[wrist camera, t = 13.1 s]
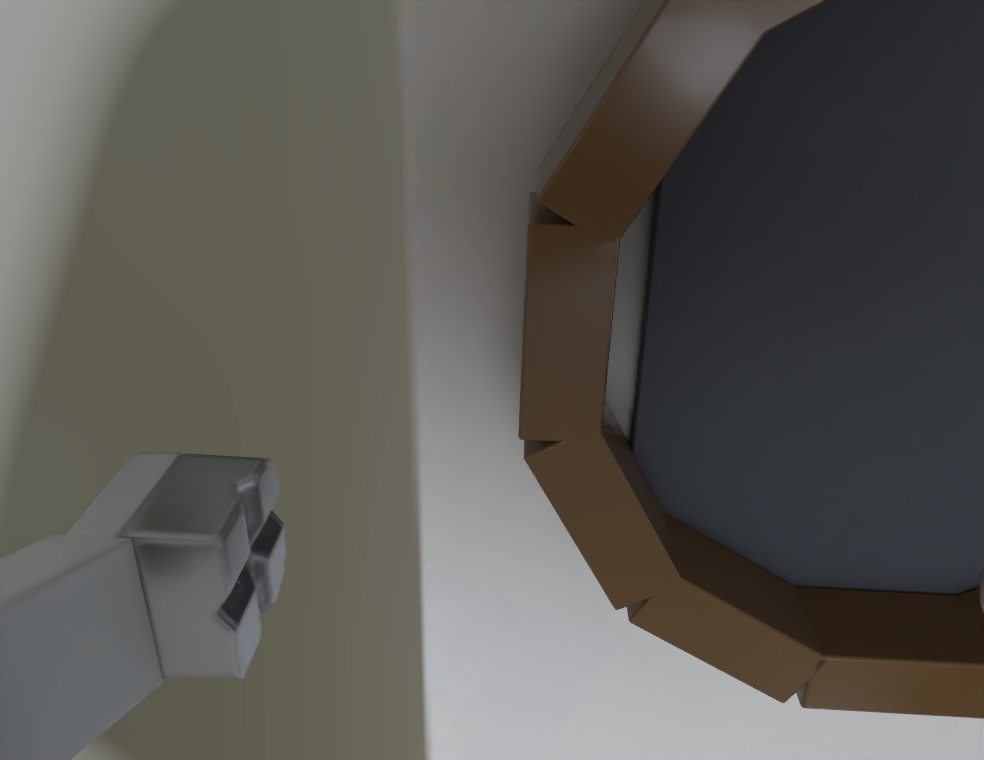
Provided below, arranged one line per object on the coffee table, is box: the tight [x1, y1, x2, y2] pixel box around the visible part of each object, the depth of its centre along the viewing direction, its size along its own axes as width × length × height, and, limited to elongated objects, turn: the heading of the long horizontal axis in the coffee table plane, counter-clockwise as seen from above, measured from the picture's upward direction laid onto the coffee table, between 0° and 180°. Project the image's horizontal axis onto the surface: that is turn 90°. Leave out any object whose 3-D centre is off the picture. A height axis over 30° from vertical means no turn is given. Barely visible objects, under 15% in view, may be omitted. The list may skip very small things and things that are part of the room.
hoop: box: [518, 0, 984, 718], centre depth 16 cm, size 18×18×2 cm
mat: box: [631, 0, 984, 595], centre depth 17 cm, size 16×13×1 cm
